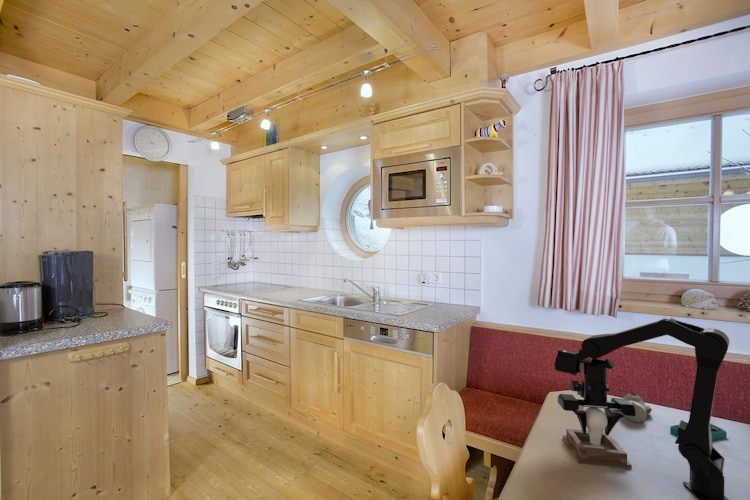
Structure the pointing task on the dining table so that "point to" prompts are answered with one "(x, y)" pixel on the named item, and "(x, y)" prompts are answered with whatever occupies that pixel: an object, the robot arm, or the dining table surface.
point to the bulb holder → (596, 450)
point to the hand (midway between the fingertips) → (595, 434)
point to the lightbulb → (595, 424)
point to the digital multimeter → (715, 431)
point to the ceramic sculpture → (637, 408)
